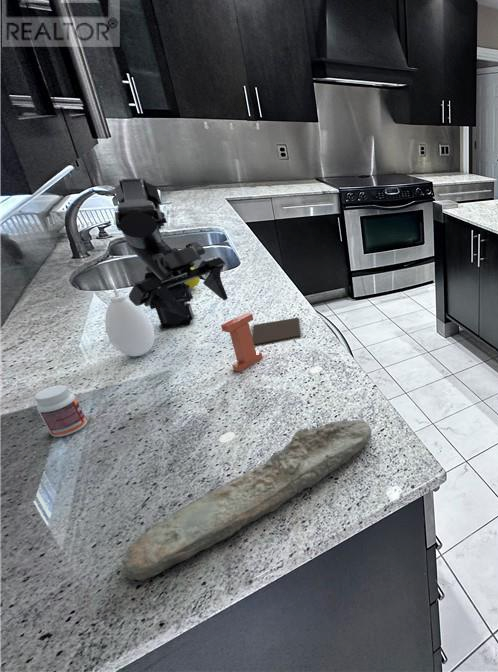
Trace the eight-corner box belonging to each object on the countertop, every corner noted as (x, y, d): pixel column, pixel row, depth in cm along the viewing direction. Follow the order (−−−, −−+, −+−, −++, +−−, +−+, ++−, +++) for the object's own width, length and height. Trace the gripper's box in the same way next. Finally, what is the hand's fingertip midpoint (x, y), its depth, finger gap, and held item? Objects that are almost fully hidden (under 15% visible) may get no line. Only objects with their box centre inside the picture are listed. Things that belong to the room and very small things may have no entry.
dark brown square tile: (252, 345, 103) (252, 344, 102) (254, 326, 111) (253, 324, 111) (300, 336, 108) (300, 335, 107) (298, 318, 116) (298, 317, 116)
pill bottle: (93, 423, 76) (76, 387, 73) (61, 440, 72) (41, 403, 69) (77, 416, 78) (60, 380, 74) (44, 433, 74) (24, 396, 70)
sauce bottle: (111, 357, 96) (82, 287, 88) (150, 342, 102) (126, 276, 95) (127, 367, 92) (98, 296, 85) (167, 351, 99) (143, 284, 92)
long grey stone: (123, 555, 56) (141, 612, 51) (107, 533, 54) (124, 589, 48) (354, 417, 80) (383, 445, 74) (350, 397, 77) (380, 425, 72)
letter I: (232, 370, 93) (219, 324, 88) (255, 355, 99) (245, 312, 94) (240, 372, 92) (228, 326, 88) (263, 357, 98) (253, 314, 93)
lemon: (206, 286, 134) (200, 263, 130) (192, 292, 129) (185, 269, 125) (191, 284, 134) (184, 262, 131) (176, 291, 129) (169, 268, 126)
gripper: (119, 245, 78) (178, 306, 80) (209, 223, 95) (257, 273, 97) (105, 277, 84) (161, 333, 85) (193, 250, 100) (238, 298, 102)
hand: (208, 307), depth 92 cm, fingers open, 9 cm apart
